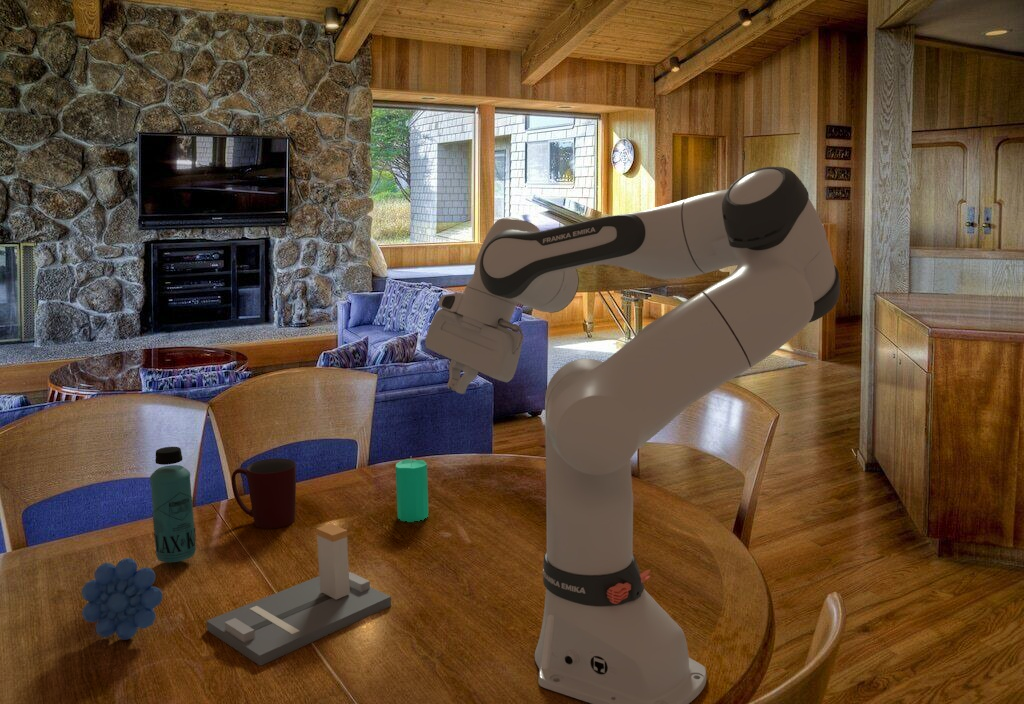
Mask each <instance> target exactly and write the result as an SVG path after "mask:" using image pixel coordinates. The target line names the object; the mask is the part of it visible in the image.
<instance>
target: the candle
mask: <svg viewBox="0 0 1024 704" xmlns="http://www.w3.org/2000/svg"><path fill="white" fill-rule="evenodd" d="M395 483H396V484H395V485H396V507H397V508H396V509H397V511H396V512H397V519H398V520H399V519H400V520H399V521H401V522H405V521H407V522H406V523H415V522H414V521H418V522H421V521H420V520H422V521H424V519H425V518H426V519H428V518H429V515H428V514H429V512H430V511H429V489H428V488H429V487H428V486H429V485H428V484H429V483H428V464H427V462H426V461H425V460H423V459H421V460H416V459H413V458H412V457H410V459H409V458H407V459H404V460H400V461H397V462H396V464H395ZM427 517H428V518H427ZM426 519H425V520H426Z"/></svg>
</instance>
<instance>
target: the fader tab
mask: <svg viewBox="0 0 1024 704" xmlns="http://www.w3.org/2000/svg"><path fill="white" fill-rule="evenodd" d="M315 531H316V536H317V537H316V539H317V540H316V541H317V559H318V576H319V577H320V592H322V593H324V594H326V595H328V596H330V597H332V598H334V599H336V600H337V599H339V598H341V597H344V596H346V595H348V594H350V585H349V572H350V571H349V567H350V566H349V550H348V549H349V548H348V530H347V529H345V528H342V527H340V526H338V525H335V524H334V523H328V524H325V525H322V526H320V527H316V529H315Z"/></svg>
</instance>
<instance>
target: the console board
mask: <svg viewBox="0 0 1024 704" xmlns="http://www.w3.org/2000/svg"><path fill="white" fill-rule="evenodd" d="M349 585H350V594H348V595H346V596H344V597H341V598H339V599H337V600H336V599H334V598H332V597H330V596H328V595H326V594H324V593H322V592H320V577H319V575H318V576H315V577H313V578H311V579H308V580H305V581H302V582H300V583H298V584H295V585H293V586H289V587H288V588H285V589H283V590H280V591H278V592H275V593H273V594H271V595H268V596H266V597H263V598H260V599H257V600H255V601H252V602H250V603H248V604H245V605H243V606H240V607H237V608H234V609H233V610H230V611H227V612H225V613H222V614H219V615H217V616H214V617H212V618H209V619H207V620H206V629H207V630H206V631H208V632H209V633H210V634H212V635H213V636H215V637H216V638H218V639H220V640H221V641H223V643H225V644H227V645H228V646H230V647H231V648H233V649H234V650H236V651H237V652H239V653H240V654H242V655H243V656H245V657H246V658H248V659H249V660H250V661H252V662H254V663H256V665H258V666H260V667H261V666H263V665H266V664H269V663H270V662H272V661H275V660H277V659H279V658H281V657H283V656H285V655H288V654H290V653H292V652H295V651H297V650H299V649H301V648H303V647H305V646H308V645H310V644H312V643H313V642H316V641H318V640H321V639H322V638H325V637H326V636H328V634H329V635H331V634H333V633H336V632H338V631H340V630H342V629H344V628H347V627H349V626H350V625H353V624H355V623H357V622H359V621H362V620H363V619H366V618H368V617H370V616H373V615H375V614H377V613H379V612H381V611H383V610H385V609H387V608H390V607H392V596H390V595H389V594H387V593H384V592H382V591H380V590H378V589H376V588H374V587H371V583H370V580H368V579H366V578H364V577H362V576H359V575H358V574H356V573H353V572H351V571H349ZM337 630H338V631H337ZM335 631H336V632H335ZM324 636H325V637H324Z"/></svg>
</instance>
